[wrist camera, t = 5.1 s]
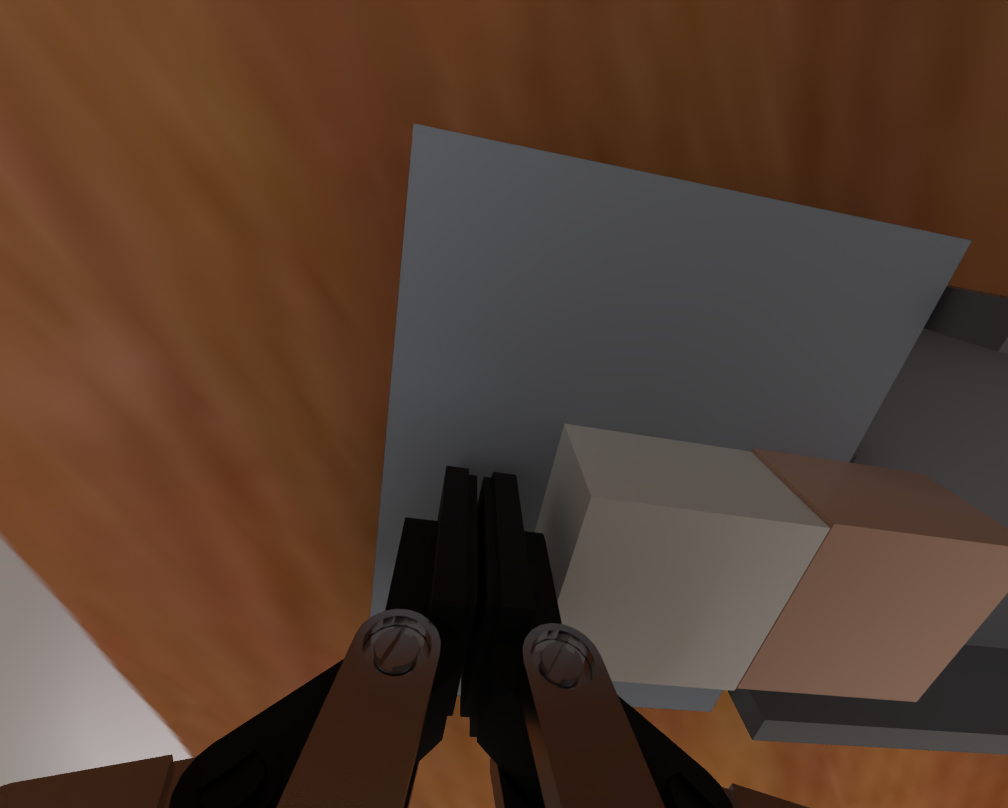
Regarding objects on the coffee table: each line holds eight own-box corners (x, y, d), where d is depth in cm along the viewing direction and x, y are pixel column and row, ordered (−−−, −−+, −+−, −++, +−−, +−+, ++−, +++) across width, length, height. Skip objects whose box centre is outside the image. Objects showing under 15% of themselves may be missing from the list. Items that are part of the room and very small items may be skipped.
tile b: (753, 448, 12) (834, 523, 9) (921, 473, 13) (1042, 550, 10) (686, 591, 14) (737, 688, 11) (835, 607, 15) (916, 702, 12)
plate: (426, 136, 11) (413, 123, 9) (882, 231, 13) (971, 240, 10) (378, 624, 17) (364, 689, 15) (682, 648, 19) (711, 711, 17)
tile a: (564, 423, 12) (591, 497, 9) (751, 451, 12) (830, 527, 9) (522, 576, 14) (533, 674, 11) (685, 593, 14) (734, 690, 11)
